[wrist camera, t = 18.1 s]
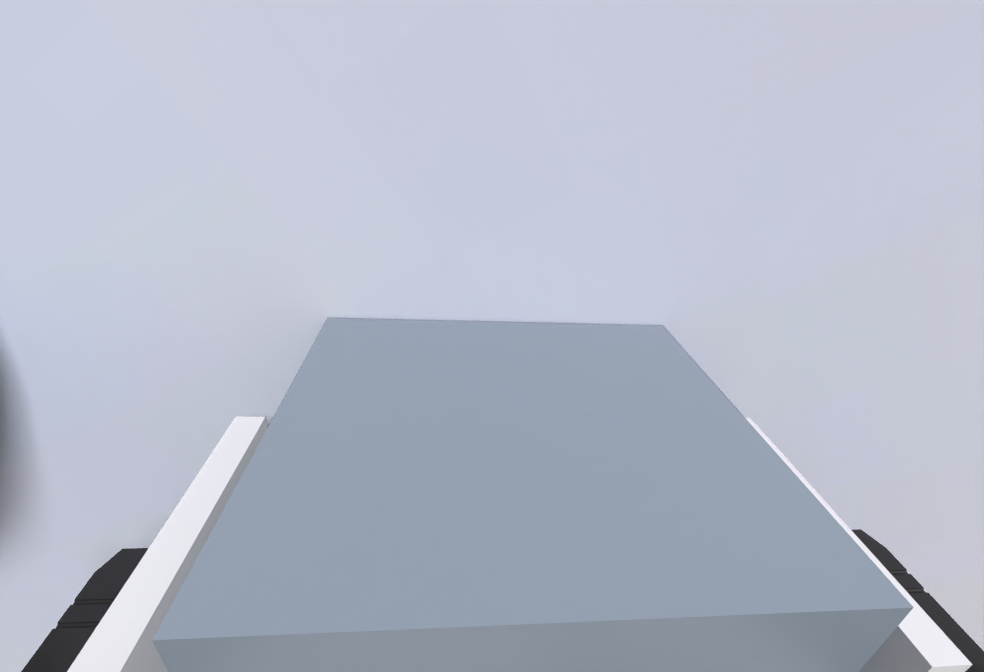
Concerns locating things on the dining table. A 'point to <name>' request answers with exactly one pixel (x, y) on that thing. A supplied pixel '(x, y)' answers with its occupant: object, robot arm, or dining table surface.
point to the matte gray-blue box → (520, 519)
